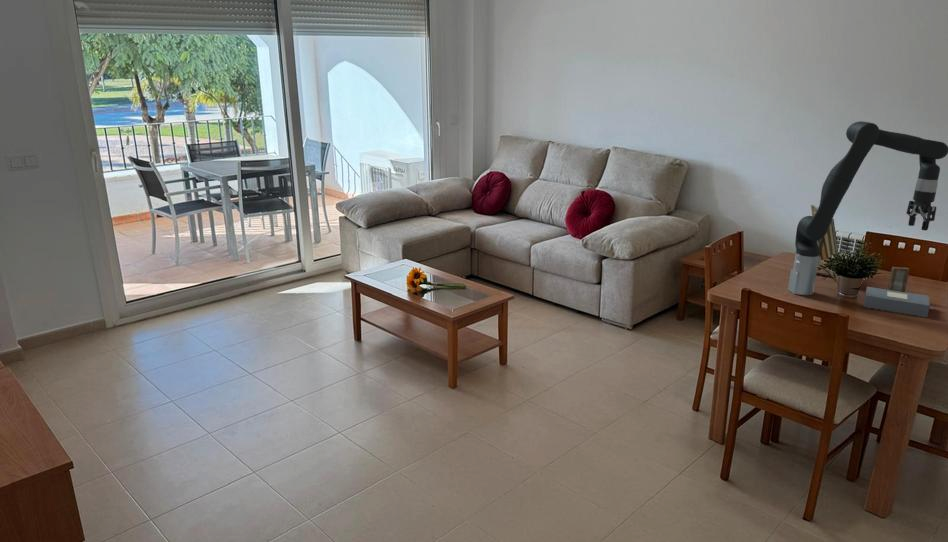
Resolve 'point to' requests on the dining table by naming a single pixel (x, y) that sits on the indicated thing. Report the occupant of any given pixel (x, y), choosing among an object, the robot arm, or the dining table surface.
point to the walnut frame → (898, 279)
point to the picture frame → (827, 243)
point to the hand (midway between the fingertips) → (917, 227)
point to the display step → (897, 301)
